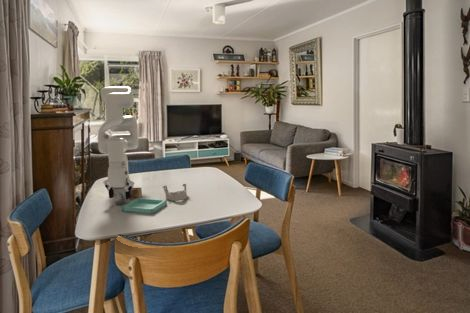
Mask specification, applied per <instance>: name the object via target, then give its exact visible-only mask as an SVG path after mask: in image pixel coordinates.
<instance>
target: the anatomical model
mask: <svg viewBox="0 0 470 313" xmlns="http://www.w3.org/2000/svg"><path fill="white" fill-rule="evenodd" d="M182 187H183V188H184V189H183V190H178V191H172V192H169V190H168V186H167V185H163V186H162V188H163V191H164V194H165V200H168V201H171V202H178V201H180V202H181V201H184V200H186V199H187V198H188V194H187V183H183V184H182Z"/></svg>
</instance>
